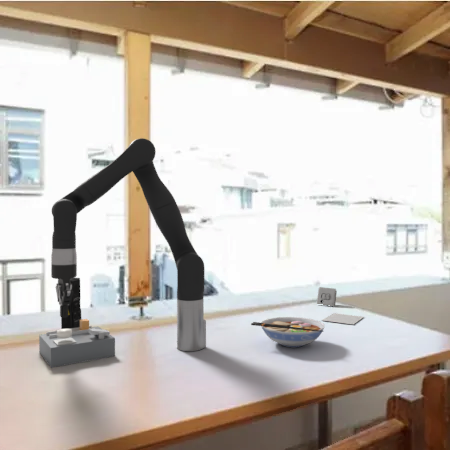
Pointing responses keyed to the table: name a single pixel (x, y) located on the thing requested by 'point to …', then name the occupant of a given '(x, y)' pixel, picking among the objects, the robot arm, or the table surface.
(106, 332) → the rocker switch
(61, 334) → the push button
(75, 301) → the portable radio
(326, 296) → the electrical switch
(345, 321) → the paper stack
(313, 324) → the ramen bowl
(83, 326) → the slider knob
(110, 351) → the console
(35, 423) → the table surface
